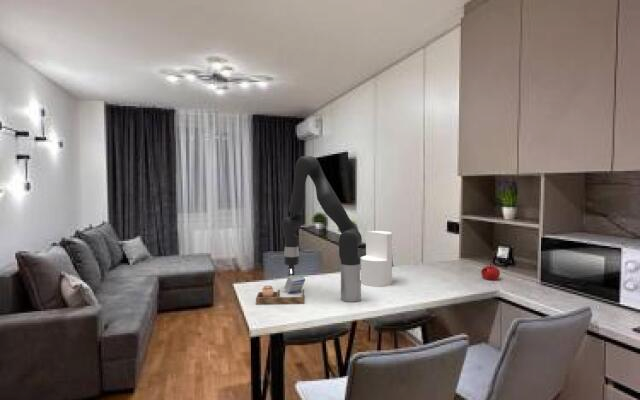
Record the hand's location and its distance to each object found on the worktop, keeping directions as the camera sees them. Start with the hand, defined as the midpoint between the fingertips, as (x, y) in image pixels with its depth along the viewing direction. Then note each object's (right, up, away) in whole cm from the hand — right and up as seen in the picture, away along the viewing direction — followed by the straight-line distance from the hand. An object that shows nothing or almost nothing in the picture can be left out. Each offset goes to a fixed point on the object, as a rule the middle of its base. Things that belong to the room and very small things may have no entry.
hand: (291, 287), depth 196 cm
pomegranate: (+113, 0, +21) cm, 115 cm away
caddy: (-3, -2, -19) cm, 19 cm away
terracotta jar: (-9, -1, -20) cm, 23 cm away
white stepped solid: (+46, -1, +14) cm, 48 cm away
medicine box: (+1, 0, -4) cm, 4 cm away
